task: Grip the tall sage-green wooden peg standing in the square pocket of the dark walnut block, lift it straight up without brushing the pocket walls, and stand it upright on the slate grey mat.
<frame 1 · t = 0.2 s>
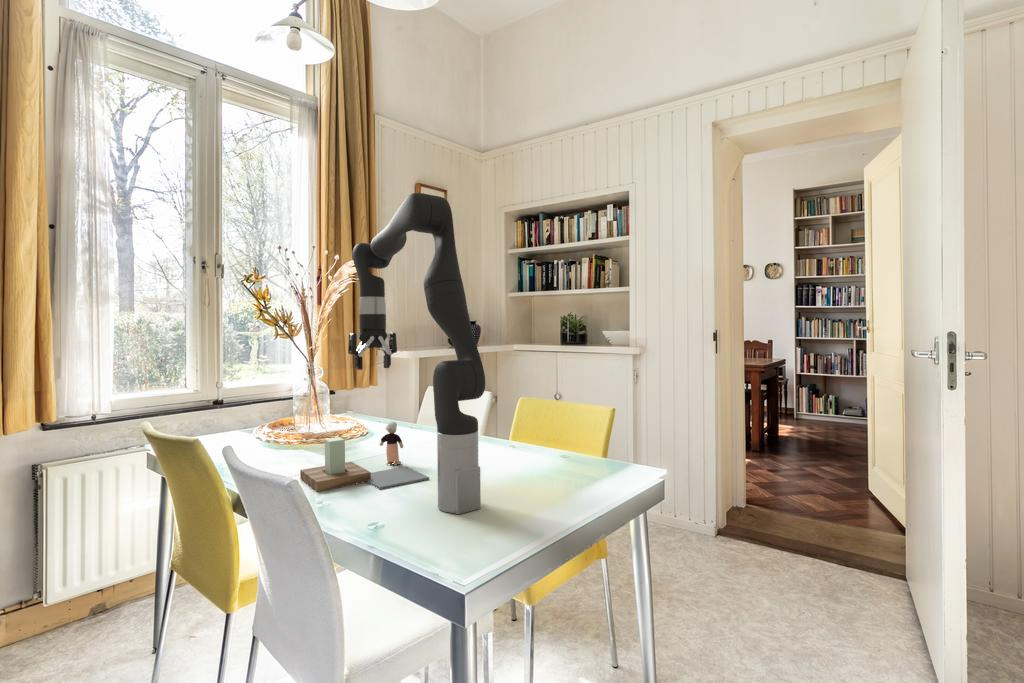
hand: (373, 368, 154), 29 cm above the table, tool pointing down, fingers open, 8 cm apart
slate mat: (393, 478, 143), on the table
grandmother figurine: (392, 464, 158), on the table
sage peg: (334, 459, 141), in the walnut pocket block
walnut pocket block: (335, 480, 141), on the table
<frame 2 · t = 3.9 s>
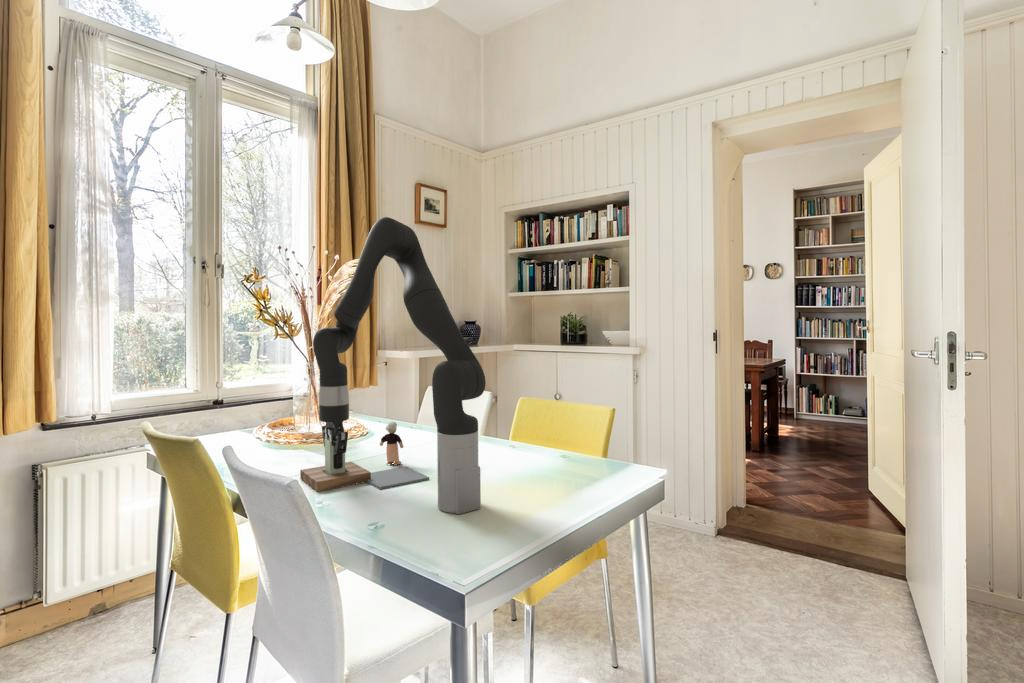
hand: (335, 466, 141), 4 cm above the table, tool pointing down, fingers closed on sage peg, 4 cm apart
sage peg: (335, 459, 141), in the walnut pocket block, touching gripper
everything else where it was.
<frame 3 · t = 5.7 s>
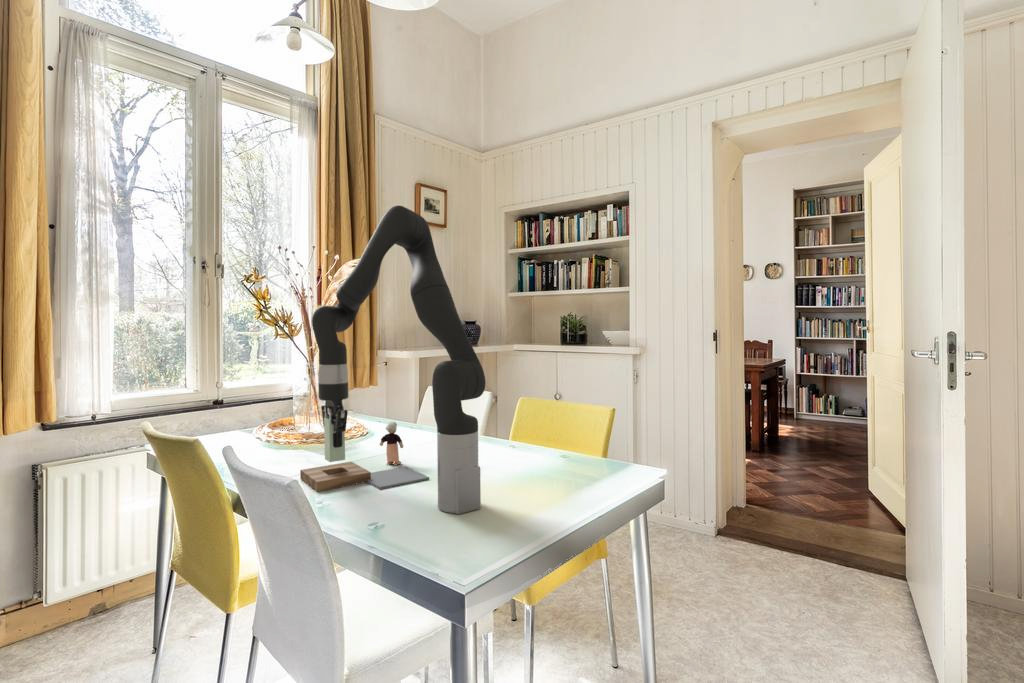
hand: (334, 445, 141), 9 cm above the table, tool pointing down, fingers closed on sage peg, 4 cm apart
sage peg: (334, 438, 141), point 11 cm above the table, touching gripper
everything else where it was.
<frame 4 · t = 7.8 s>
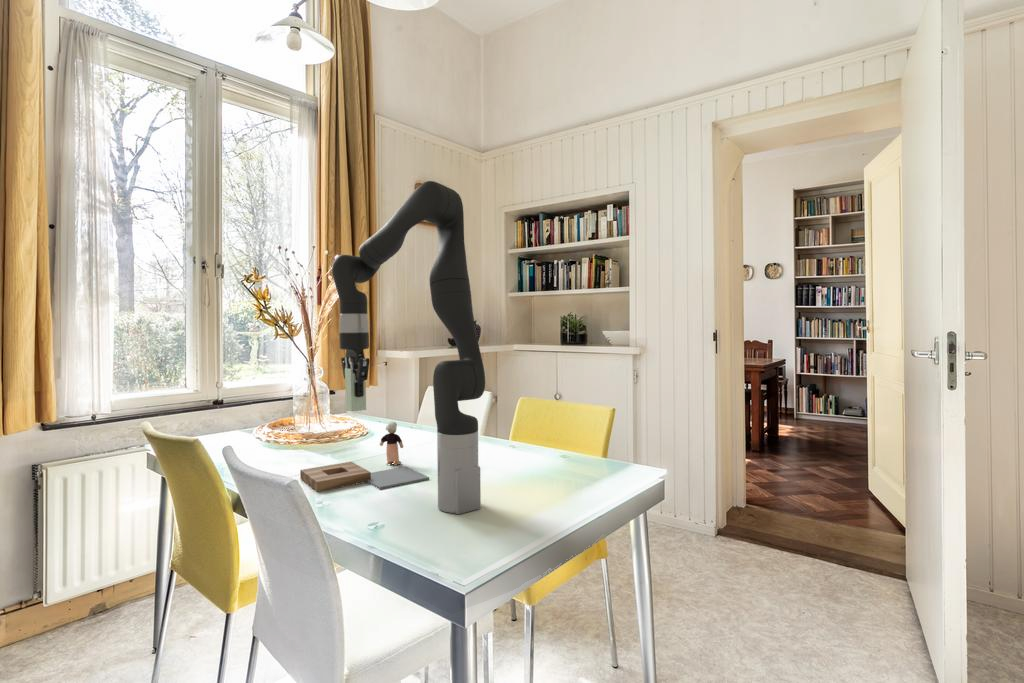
hand: (355, 395, 141), 23 cm above the table, tool pointing down, fingers closed on sage peg, 4 cm apart
sage peg: (355, 389, 141), point 24 cm above the table, touching gripper
everything else where it was.
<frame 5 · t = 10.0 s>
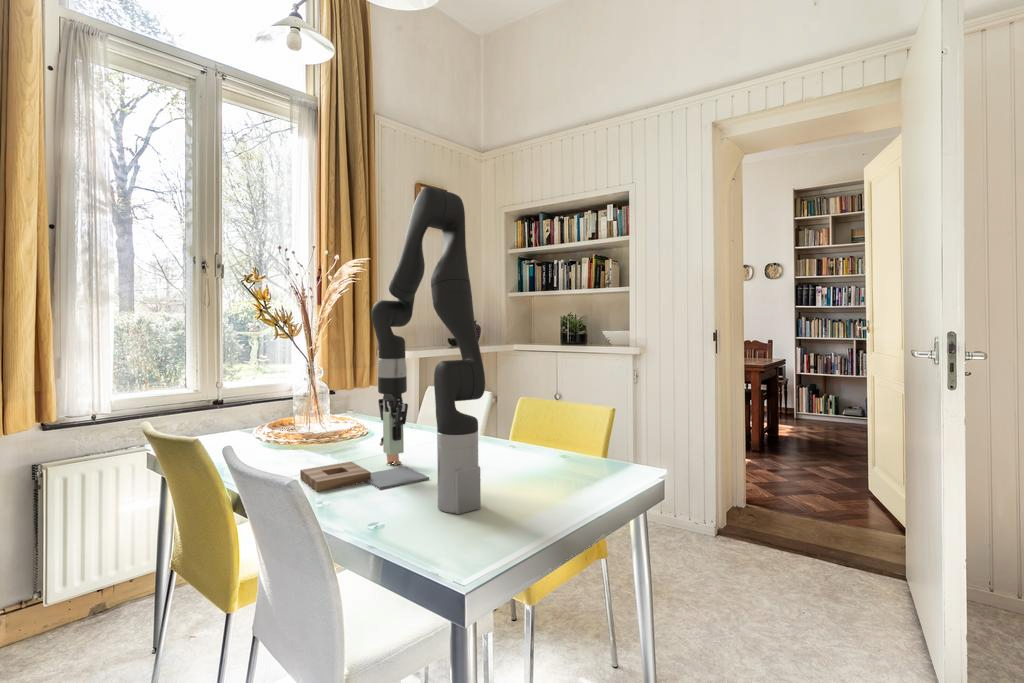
hand: (393, 438, 143), 11 cm above the table, tool pointing down, fingers closed on sage peg, 4 cm apart
sage peg: (393, 432, 143), point 12 cm above the table, touching gripper
everything else where it was.
when the fingers open (5 cm above the table, at t = 11.9 s): sage peg stays where it is, resting on slate mat.
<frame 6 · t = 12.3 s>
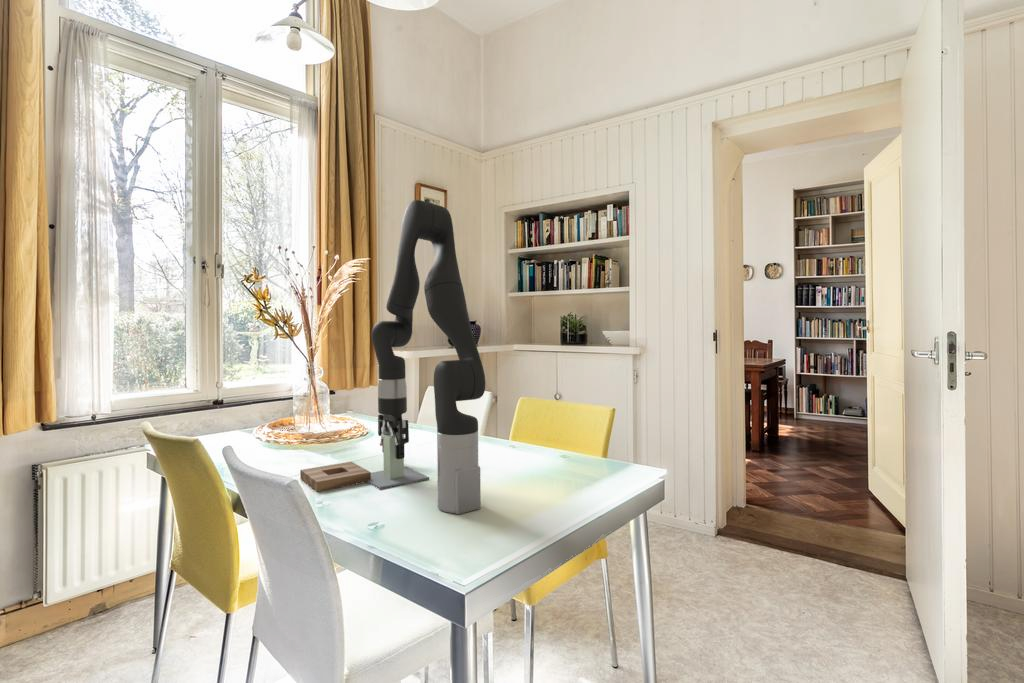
hand: (393, 455, 143), 6 cm above the table, tool pointing down, fingers open, 8 cm apart
sage peg: (393, 455, 143), on the slate mat, point 6 cm above the table
everything else where it was.
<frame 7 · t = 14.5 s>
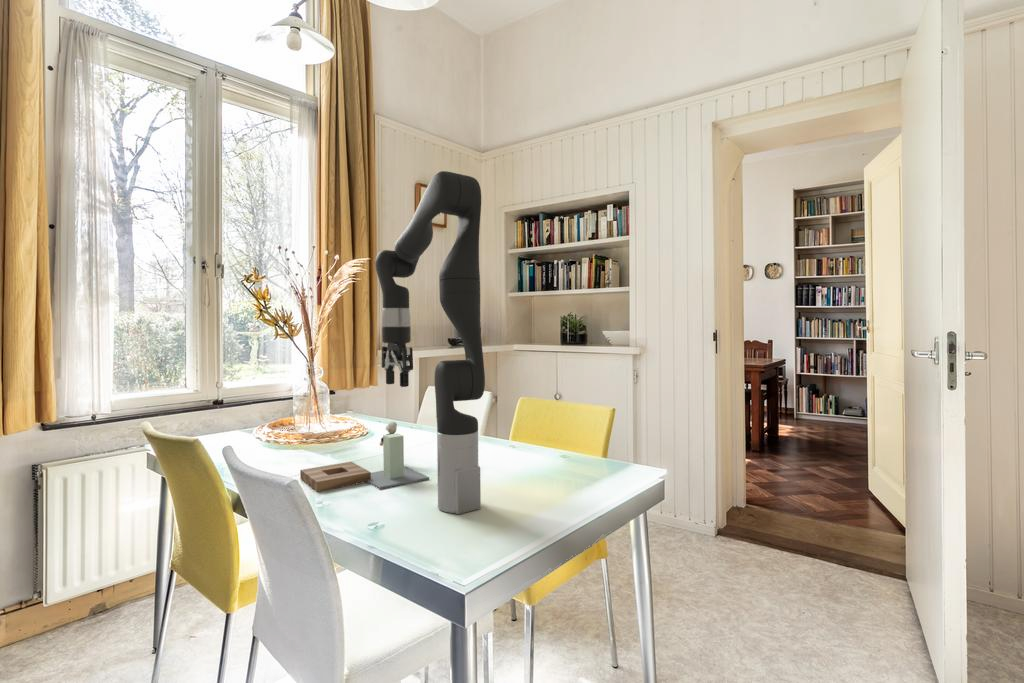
hand: (397, 385, 143), 25 cm above the table, tool pointing down, fingers open, 8 cm apart
nothing on the table moved.
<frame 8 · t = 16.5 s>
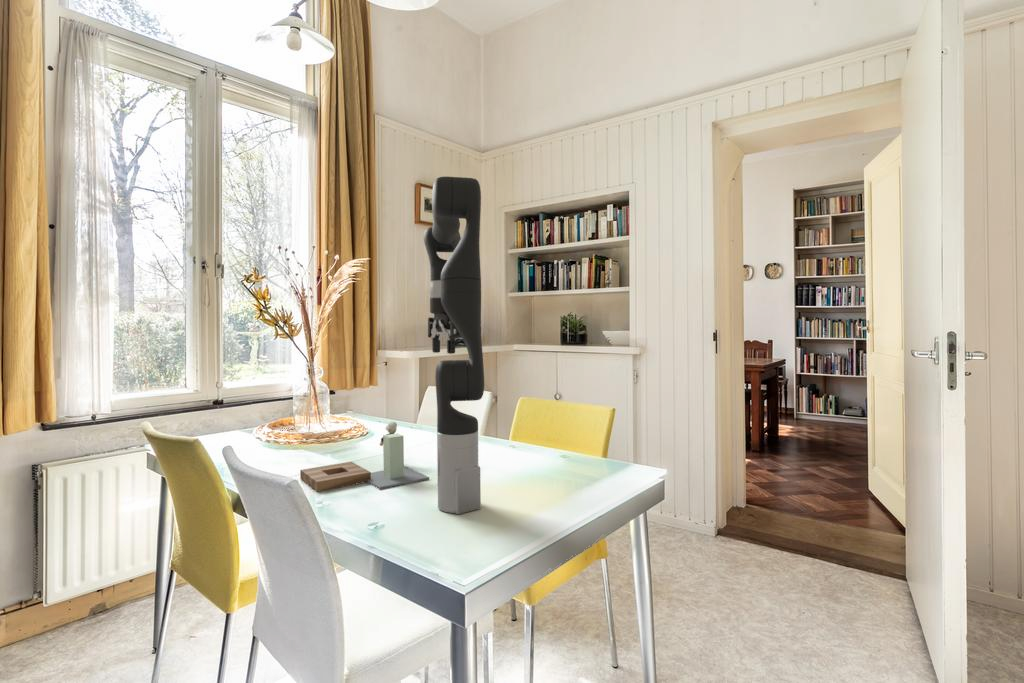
hand: (443, 353, 154), 33 cm above the table, tool pointing down, fingers open, 8 cm apart
nothing on the table moved.
at the end: sage peg inside the target area on the slate mat (0.1 cm from its centre), point 6.1 cm above the slate mat's base; sage peg tilted 0°; the gripper is holding nothing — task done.
